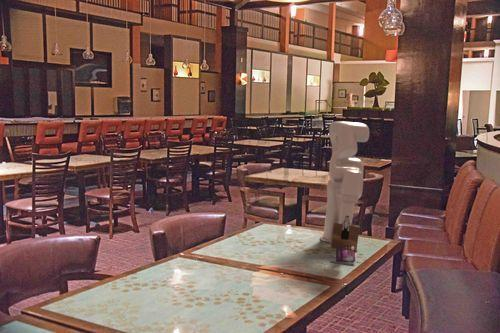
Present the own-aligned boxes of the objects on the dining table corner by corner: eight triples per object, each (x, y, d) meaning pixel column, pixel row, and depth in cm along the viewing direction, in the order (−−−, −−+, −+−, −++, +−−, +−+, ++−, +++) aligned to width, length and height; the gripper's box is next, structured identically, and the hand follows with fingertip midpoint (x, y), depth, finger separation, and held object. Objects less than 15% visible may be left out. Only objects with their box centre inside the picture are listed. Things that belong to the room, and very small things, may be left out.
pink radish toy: (336, 245, 223) (355, 245, 225) (331, 246, 228) (349, 246, 230) (337, 261, 221) (356, 261, 224) (331, 261, 226) (350, 261, 229)
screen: (331, 246, 247) (333, 222, 246) (356, 250, 245) (359, 225, 244) (330, 248, 245) (333, 223, 244) (356, 251, 243) (359, 226, 242)
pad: (331, 257, 231) (331, 255, 231) (354, 260, 229) (354, 259, 229) (330, 262, 223) (330, 260, 223) (353, 265, 221) (353, 264, 221)
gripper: (341, 193, 231) (337, 229, 234) (339, 201, 215) (335, 240, 218) (358, 195, 230) (353, 232, 233) (358, 203, 213) (353, 243, 216)
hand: (344, 236), depth 225 cm, fingers open, 9 cm apart
